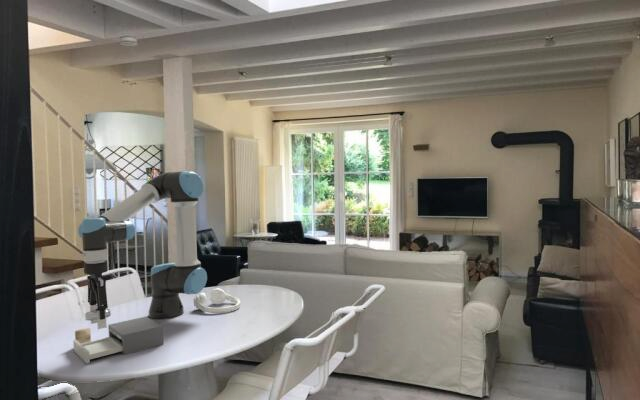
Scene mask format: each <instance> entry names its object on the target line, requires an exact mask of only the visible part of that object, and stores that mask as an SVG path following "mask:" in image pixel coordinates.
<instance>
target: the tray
mask: <svg viewBox="0 0 640 400" xmlns="http://www.w3.org/2000/svg"><path fill="white" fill-rule="evenodd" d="M72 342H73V351H74V352H75V354H76V355H78V357H79V358H80V359H81V360H82V361H83V362H84V363H85V364H86V365H87V364H90V363H91V361H90V360H93V359H97V358H100V357H101V358H102V357H105V356H108V355H113V354H116V353H117V354H118V353H121V352H120V351H123V343H121V342H120V341H119V340H117V339H116V338H112V337H109V336H108V337H103V338H99V339H95V340H91V341H90V342H86V343H82V344H81V343H80V342H78V341H77V340H75V339H73V341H72Z"/></svg>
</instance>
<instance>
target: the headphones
mask: <svg viewBox="0 0 640 400" xmlns="http://www.w3.org/2000/svg"><path fill="white" fill-rule="evenodd" d="M208 297H209V301H210V303H212V304H213V305H221V304H224V302H225V301H226V300H227V301H229V302H232V303H234V305H231V306H227V307H209V306H207V305H208V300H207V295H206V293H205V292H199V293H198V295H197V294H196V296H195V297H194V298H193V305H194V307H195V308H196V309H199V311H202V312H205V313H208V314H209V313H210V314H226V313H231V311H232V312H235V311H237V310H239V309H240V307H241V299H240V298H238V297H235V296H233V295H230V294H228V293H226V292H225V291H224V290H223V288H218V287H217V288H214V289H212V290H211V291H210V293H209V296H208ZM238 308H239V309H238ZM234 310H235V311H234Z"/></svg>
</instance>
